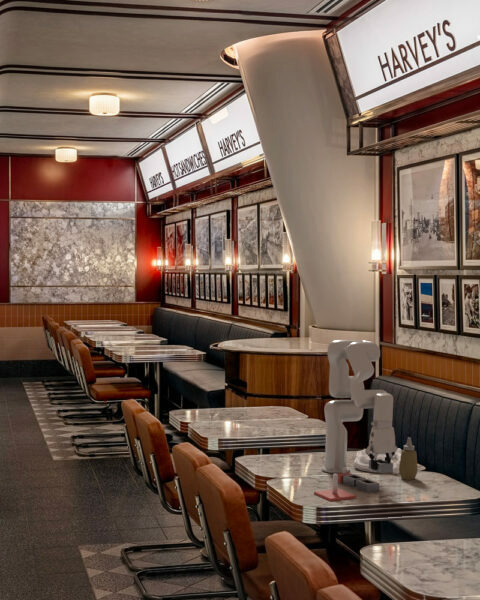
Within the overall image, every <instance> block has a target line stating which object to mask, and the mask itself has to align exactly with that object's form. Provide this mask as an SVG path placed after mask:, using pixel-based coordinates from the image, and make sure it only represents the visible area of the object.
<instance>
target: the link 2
mask: <svg viewBox="0 0 480 600" xmlns="http://www.w3.org/2000/svg"><path fill="white" fill-rule="evenodd" d="M355 490H358V491H360V492H363V493H366V494H372V492H373V493H379V492H380V482H377V481H374V480H372V479H369V478H366V479H362V480H356V488H355Z"/></svg>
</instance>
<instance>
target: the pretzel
mask: <svg viewBox="0 0 480 600" xmlns="http://www.w3.org/2000/svg"><path fill="white" fill-rule="evenodd" d="M397 448H398V450H397V451H396V452H395V454H394V455H393V456H392V459H391V463H393V472H391V474H394V475H398V474H400V472H399V465H400V458H401V451H402V450H403V449H401V448H399V447H397ZM366 449H367V448H363V449H362V450H358V451H357V452H356V456H355V458H354V461H353V464H352V465H353V467H354V468H355V469H357V470H360V471H362V472H368V473H369V472H370V473H377V472H376V471H373V470H371V469H369V460H371V459H370V457H369V456H368V455H367V454H366V452H365V450H366ZM370 452H371V451H370ZM374 454H375V453H374ZM385 457H386V455H385V453H383V454H378V456H377V458H376V459H383V460H385ZM393 459H395V460H397V461H396V462H395V461H393Z"/></svg>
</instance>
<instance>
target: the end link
mask: <svg viewBox="0 0 480 600" xmlns="http://www.w3.org/2000/svg"><path fill="white" fill-rule="evenodd" d="M376 460H377V470H373V469H371V460H369V469H371V470H373V471H376V473H379V474H387V473H392V472H393V463H391V462H388V461H385V460H383V459H376Z"/></svg>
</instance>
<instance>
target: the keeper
mask: <svg viewBox="0 0 480 600" xmlns="http://www.w3.org/2000/svg"><path fill="white" fill-rule="evenodd" d="M337 474H338V473H332V489H325V490H318V491H317V490H315V491H313V495H315V496H317V497H320V498H322V499H325V500H327V501H329V502H333V501H334V502H335V501H345V500H352V498H354V499H356V498H357V495H355V494H354V493H350V492H348V491H346V490H344V489H340V488H338V487H339V482H338V475H337ZM344 499H345V500H344Z"/></svg>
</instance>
